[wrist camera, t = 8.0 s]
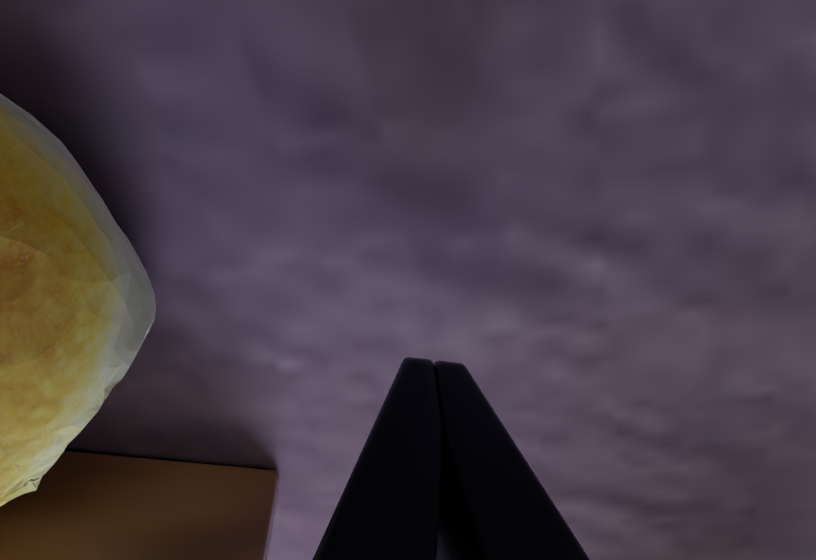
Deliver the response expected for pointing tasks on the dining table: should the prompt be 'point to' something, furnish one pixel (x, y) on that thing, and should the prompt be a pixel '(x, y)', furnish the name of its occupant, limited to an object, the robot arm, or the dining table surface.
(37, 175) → the bread roll
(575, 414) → the dining table surface
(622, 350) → the dining table surface
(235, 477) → the open wooden frame
